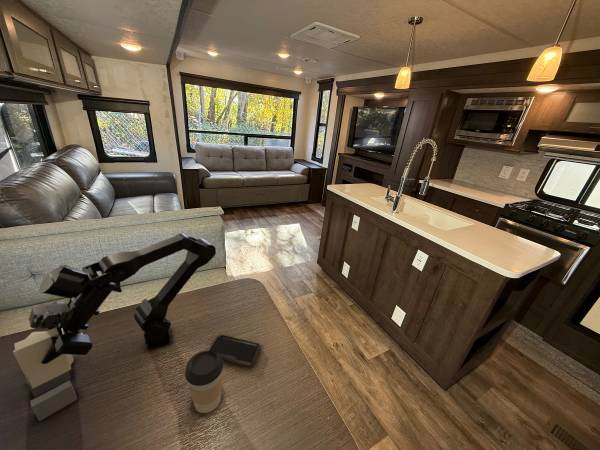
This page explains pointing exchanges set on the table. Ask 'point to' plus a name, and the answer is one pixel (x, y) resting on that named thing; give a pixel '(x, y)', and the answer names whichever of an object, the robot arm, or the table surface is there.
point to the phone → (236, 350)
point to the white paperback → (40, 358)
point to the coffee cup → (205, 380)
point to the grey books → (52, 396)
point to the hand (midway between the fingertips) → (42, 358)
